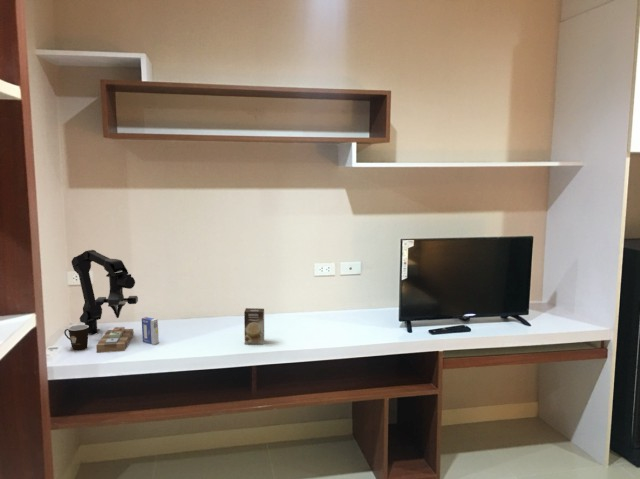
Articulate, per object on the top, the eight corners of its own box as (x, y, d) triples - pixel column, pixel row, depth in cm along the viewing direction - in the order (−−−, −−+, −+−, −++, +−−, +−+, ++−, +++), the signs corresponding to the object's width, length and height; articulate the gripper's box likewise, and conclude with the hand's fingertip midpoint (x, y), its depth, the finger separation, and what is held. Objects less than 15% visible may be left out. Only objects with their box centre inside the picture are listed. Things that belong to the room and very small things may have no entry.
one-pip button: (108, 344, 240) (107, 338, 239) (119, 344, 241) (118, 337, 240) (105, 348, 235) (105, 341, 235) (116, 347, 236) (116, 340, 236)
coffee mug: (93, 348, 239) (92, 327, 237) (74, 353, 232) (72, 331, 231) (82, 342, 246) (80, 322, 245) (63, 347, 240) (62, 326, 239)
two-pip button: (114, 333, 253) (114, 327, 253) (125, 332, 254) (124, 326, 254) (112, 336, 249) (112, 329, 248) (123, 335, 249) (122, 329, 249)
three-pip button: (111, 337, 247) (111, 331, 246) (122, 337, 247) (121, 330, 247) (109, 341, 242) (108, 334, 241) (120, 340, 243) (119, 333, 242)
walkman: (142, 342, 247) (141, 317, 246) (147, 340, 250) (145, 316, 248) (154, 344, 243) (153, 320, 242) (158, 342, 246) (157, 318, 244)
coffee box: (244, 344, 243) (243, 311, 241) (246, 340, 249) (245, 308, 247) (263, 344, 243) (262, 311, 241) (265, 340, 249) (264, 308, 247)
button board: (108, 336, 255) (107, 330, 254) (133, 335, 257) (133, 328, 256) (96, 352, 233) (96, 345, 232) (124, 350, 235) (124, 343, 234)
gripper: (91, 290, 239) (93, 323, 241) (133, 289, 242) (134, 321, 244) (97, 285, 250) (99, 316, 252) (137, 284, 253) (138, 315, 255)
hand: (117, 317), depth 250 cm, fingers closed
